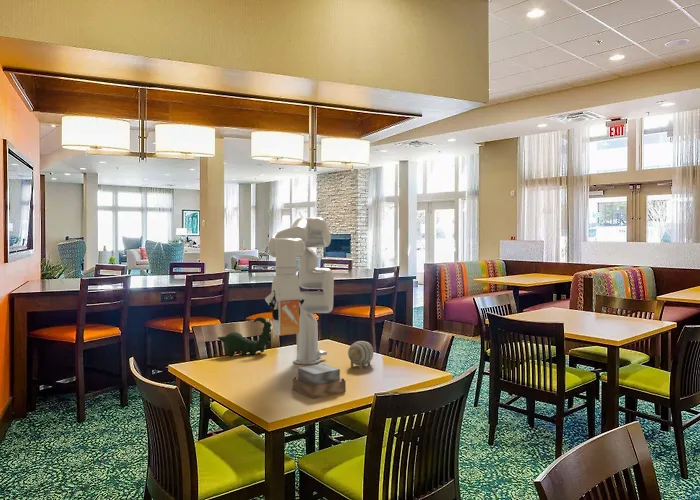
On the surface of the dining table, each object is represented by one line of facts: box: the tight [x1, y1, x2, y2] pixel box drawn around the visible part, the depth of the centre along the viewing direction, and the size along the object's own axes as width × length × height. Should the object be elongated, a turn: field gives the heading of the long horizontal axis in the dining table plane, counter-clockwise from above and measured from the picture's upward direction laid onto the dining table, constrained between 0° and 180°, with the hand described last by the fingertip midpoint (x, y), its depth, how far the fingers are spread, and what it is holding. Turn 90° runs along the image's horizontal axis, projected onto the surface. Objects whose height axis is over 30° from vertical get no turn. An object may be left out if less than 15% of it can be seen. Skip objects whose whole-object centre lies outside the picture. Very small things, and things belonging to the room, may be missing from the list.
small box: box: [272, 299, 299, 336], centre depth 191 cm, size 8×6×13 cm
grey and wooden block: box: [292, 363, 347, 400], centre depth 188 cm, size 14×14×8 cm
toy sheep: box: [347, 340, 374, 370], centre depth 223 cm, size 11×17×11 cm, turn 153°
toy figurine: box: [217, 316, 273, 356], centre depth 247 cm, size 9×19×25 cm
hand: (286, 318), depth 191 cm, fingers closed on small box, 8 cm apart
